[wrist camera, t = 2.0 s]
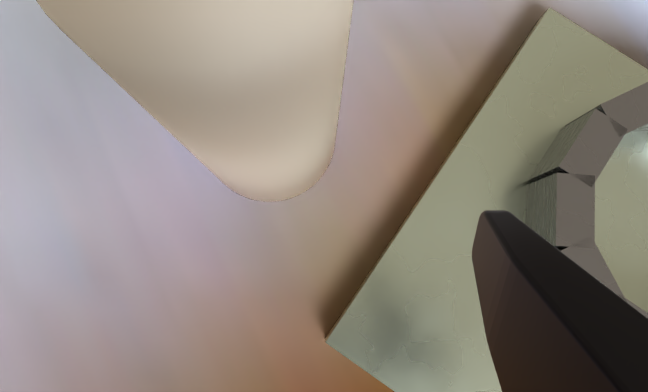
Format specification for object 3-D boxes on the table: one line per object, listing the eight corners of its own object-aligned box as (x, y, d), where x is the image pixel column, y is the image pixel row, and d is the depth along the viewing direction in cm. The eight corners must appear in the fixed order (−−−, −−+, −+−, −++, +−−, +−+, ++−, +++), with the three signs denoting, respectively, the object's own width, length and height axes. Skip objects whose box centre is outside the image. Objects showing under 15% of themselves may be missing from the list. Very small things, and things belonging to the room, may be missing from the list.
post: (286, 227, 20) (227, 146, 7) (178, 153, 20) (-62, -53, 7) (360, 121, 21) (430, -131, 8) (255, 51, 21) (154, -302, 8)
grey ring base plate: (659, 575, 18) (738, 645, 15) (325, 339, 19) (326, 353, 16) (853, 218, 20) (963, 207, 17) (538, 19, 21) (581, -30, 18)
